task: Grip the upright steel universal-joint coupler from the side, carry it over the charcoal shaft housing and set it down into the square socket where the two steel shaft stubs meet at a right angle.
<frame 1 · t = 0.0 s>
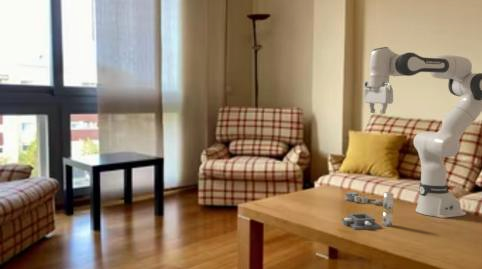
hand: (377, 113, 191), 48 cm above the table, tool pointing down, fingers open, 8 cm apart
coupler: (387, 224, 181), on the table
shaft housing: (361, 224, 181), on the table
pulley system: (357, 201, 224), on the table
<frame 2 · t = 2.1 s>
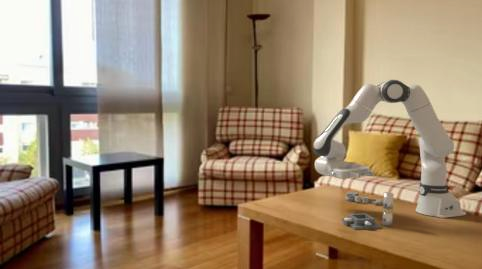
hand: (366, 174, 188), 20 cm above the table, tool horizontal, fingers open, 8 cm apart
nothing on the table moved.
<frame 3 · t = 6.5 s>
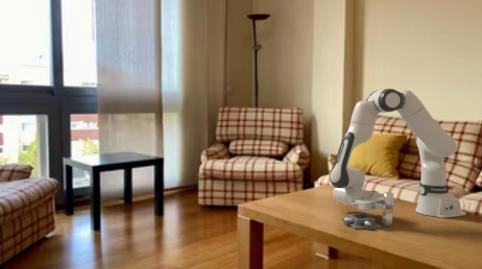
hand: (389, 206, 179), 8 cm above the table, tool horizontal, fingers closed on coupler, 4 cm apart
coupler: (387, 224, 181), on the table, touching gripper
everything else where it was.
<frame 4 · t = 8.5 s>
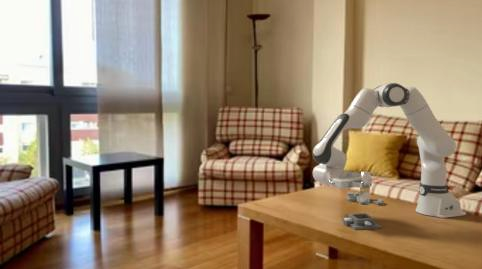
hand: (366, 185, 179), 18 cm above the table, tool horizontal, fingers closed on coupler, 4 cm apart
coupler: (363, 203, 180), point 9 cm above the table, touching gripper
everything else where it was.
when the fingers open (11 cm above the table, at t = 10.4 s): coupler drops 2 cm, resting on shaft housing.
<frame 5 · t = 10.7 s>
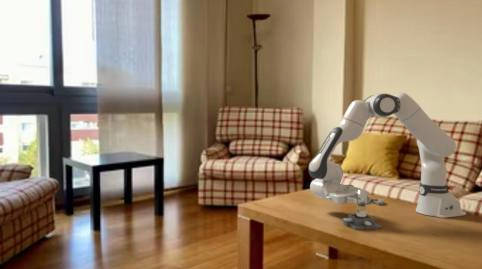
hand: (363, 200, 179), 11 cm above the table, tool horizontal, fingers open, 7 cm apart
coupler: (361, 221, 181), point 1 cm above the table, touching shaft housing
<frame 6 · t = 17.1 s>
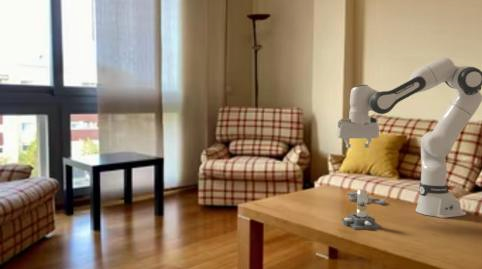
hand: (357, 147, 199), 31 cm above the table, tool pointing down, fingers open, 8 cm apart
at the end: coupler 0.0 cm off-centre on the shaft housing, point 1.0 cm above the shaft housing's base; coupler tilted 1°; the gripper is holding nothing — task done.
